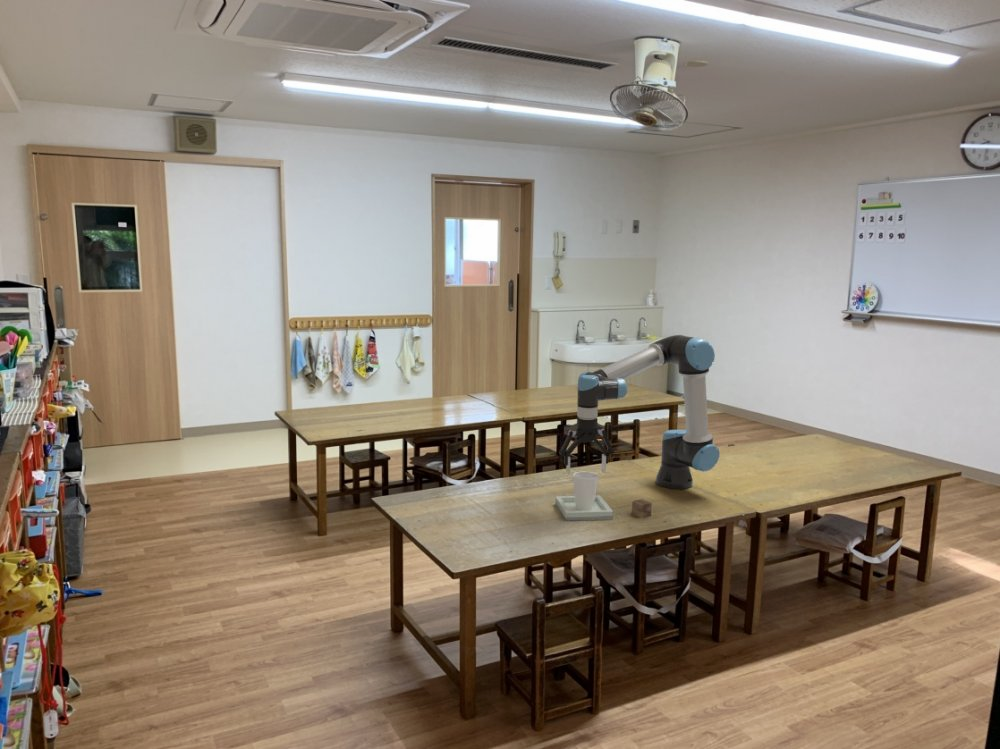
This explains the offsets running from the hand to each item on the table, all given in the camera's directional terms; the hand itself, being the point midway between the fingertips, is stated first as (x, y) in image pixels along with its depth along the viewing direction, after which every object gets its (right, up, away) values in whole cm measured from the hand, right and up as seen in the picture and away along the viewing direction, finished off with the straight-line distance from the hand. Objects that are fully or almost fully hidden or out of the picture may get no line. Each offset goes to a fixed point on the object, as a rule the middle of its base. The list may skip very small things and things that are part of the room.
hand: (585, 472), depth 277 cm
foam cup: (0, -14, +2) cm, 14 cm away
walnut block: (+21, -16, +1) cm, 26 cm away
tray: (-1, -15, +2) cm, 15 cm away
